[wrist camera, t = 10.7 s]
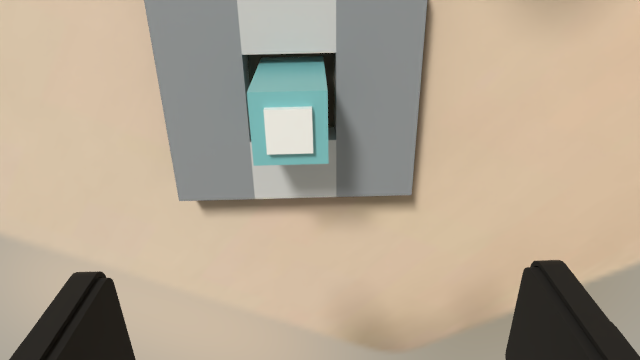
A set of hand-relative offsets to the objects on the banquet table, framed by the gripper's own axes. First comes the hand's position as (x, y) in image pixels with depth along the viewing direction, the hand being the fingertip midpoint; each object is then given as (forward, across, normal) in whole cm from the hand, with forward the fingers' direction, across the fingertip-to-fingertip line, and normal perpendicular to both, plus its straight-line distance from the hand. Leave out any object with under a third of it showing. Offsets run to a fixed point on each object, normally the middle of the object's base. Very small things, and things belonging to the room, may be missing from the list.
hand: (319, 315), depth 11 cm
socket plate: (+22, +2, +1) cm, 22 cm away
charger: (+22, +2, +1) cm, 22 cm away
